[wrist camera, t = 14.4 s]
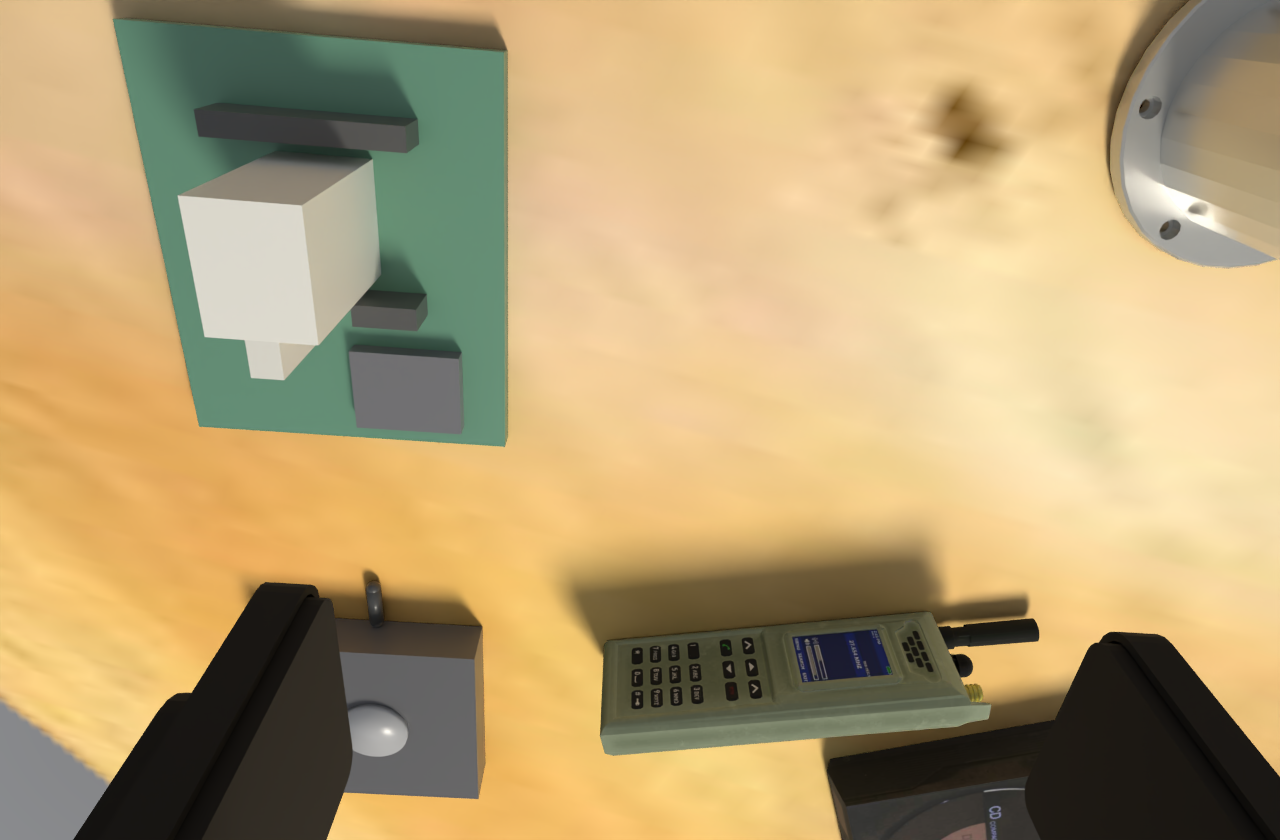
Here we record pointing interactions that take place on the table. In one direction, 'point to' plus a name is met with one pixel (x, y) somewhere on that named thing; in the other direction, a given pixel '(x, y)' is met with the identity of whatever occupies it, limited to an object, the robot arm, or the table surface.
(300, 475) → the table surface
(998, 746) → the portable cd player
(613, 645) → the handheld radio
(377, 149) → the board
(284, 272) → the plug
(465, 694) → the gray dome slab
